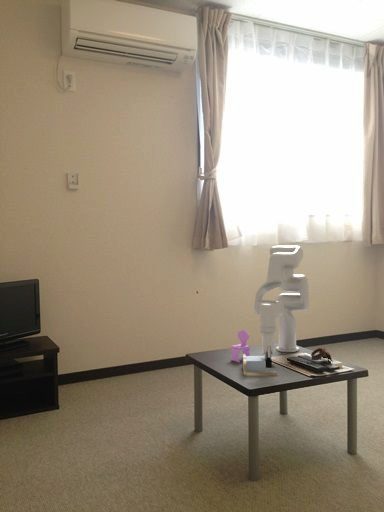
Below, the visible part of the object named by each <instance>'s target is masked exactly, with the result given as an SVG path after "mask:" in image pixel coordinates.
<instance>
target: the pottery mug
mask: <svg viewBox="0 0 384 512" xmlns="http://www.w3.org/2000/svg"><path fill="white" fill-rule="evenodd" d="M317 353H318V354H317ZM310 356H311V361H312V360H315V361H318V360H320V361H322V357H323V358H326V359H327V358H328V359H330V360H331V361H332V362H333V359H332V356H331V354H330V352H329V351H328V350H327V349H326V348H324V347H319V348H316V349H315V350H313V351H312V352H311V354H310Z"/></svg>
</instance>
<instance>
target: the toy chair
mask: <svg viewBox="0 0 384 512" xmlns="http://www.w3.org/2000/svg"><path fill="white" fill-rule="evenodd" d="M237 338H238V340H239V341H240V343H239V344H235V345H231V348H230V352H231V359H230V360H231V361H233V362H237V363H241V361H240V358H239V354H240V351H241V350H242V355H243V354H245V355H246V356H251V355H250V346H249V345H247V341H248V340H249V338H250V334H249V332H248V331H247V330H245V329H243V330H239V331H238V332H237Z"/></svg>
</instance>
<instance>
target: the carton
mask: <svg viewBox="0 0 384 512" xmlns="http://www.w3.org/2000/svg"><path fill="white" fill-rule="evenodd" d="M266 370H267V368H266V361H265V355H250V356H246V372H267V371H266Z"/></svg>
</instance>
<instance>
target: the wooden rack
mask: <svg viewBox="0 0 384 512" xmlns="http://www.w3.org/2000/svg"><path fill="white" fill-rule="evenodd" d="M274 367H275V363H274V362H272V368H274ZM242 369H243V370H242V371H243V376H244V377H245V376H257V377H258V376H261V377H263V376H270V377H271V376H273V377H275V376H278V372H277V371H266V372H246V355H245V354H243V353H242Z"/></svg>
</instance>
